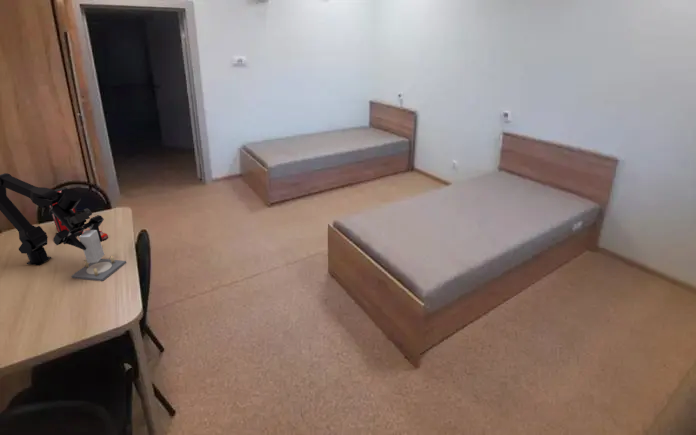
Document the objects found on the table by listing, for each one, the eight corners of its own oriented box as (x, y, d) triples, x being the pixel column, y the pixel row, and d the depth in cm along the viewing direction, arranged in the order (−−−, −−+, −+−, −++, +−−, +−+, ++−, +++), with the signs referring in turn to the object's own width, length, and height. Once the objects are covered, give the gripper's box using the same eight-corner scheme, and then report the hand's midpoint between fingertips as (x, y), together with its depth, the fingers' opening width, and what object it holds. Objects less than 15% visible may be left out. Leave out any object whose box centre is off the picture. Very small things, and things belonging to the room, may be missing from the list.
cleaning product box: (84, 234, 194) (72, 196, 186) (63, 240, 189) (49, 201, 180) (77, 223, 205) (65, 187, 197) (56, 229, 200) (43, 192, 191)
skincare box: (94, 255, 166) (86, 229, 160) (104, 255, 166) (97, 229, 161) (86, 263, 160) (78, 236, 155) (97, 262, 160) (89, 236, 155)
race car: (110, 238, 192) (108, 230, 190) (100, 243, 187) (98, 235, 185) (91, 233, 196) (89, 226, 194) (81, 238, 192) (78, 230, 190)
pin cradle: (71, 277, 160) (68, 269, 158) (97, 260, 172) (94, 252, 171) (102, 281, 158) (100, 272, 156) (126, 262, 170) (124, 254, 169)
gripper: (48, 214, 146) (78, 246, 147) (94, 196, 162) (121, 225, 163) (41, 229, 152) (69, 260, 153) (86, 211, 168) (111, 239, 169)
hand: (94, 245), depth 160 cm, fingers closed on skincare box, 7 cm apart
